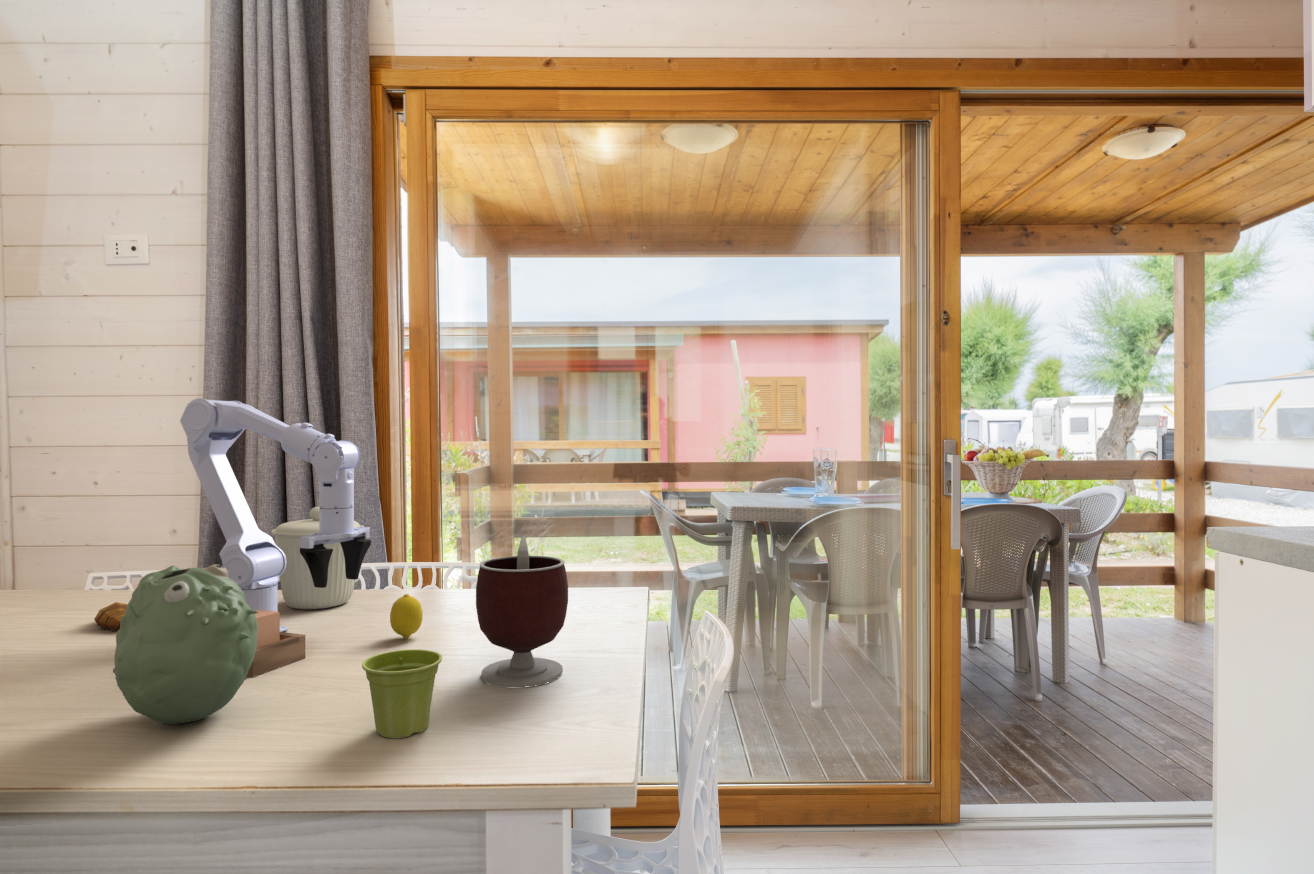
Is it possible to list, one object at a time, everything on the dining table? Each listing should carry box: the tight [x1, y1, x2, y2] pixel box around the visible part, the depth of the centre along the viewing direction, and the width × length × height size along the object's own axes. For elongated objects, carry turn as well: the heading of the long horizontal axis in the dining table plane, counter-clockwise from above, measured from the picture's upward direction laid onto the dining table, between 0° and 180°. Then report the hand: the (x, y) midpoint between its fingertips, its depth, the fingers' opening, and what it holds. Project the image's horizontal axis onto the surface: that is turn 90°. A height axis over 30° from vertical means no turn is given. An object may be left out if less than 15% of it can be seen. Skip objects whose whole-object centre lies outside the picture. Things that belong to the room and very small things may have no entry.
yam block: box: [255, 610, 281, 648], centre depth 115 cm, size 4×4×5 cm
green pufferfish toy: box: [112, 563, 258, 725], centre depth 93 cm, size 16×19×20 cm
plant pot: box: [361, 648, 443, 739], centre depth 90 cm, size 9×9×9 cm
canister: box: [270, 506, 365, 610], centre depth 156 cm, size 18×18×21 cm
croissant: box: [94, 601, 128, 633], centre depth 138 cm, size 14×7×5 cm, turn 54°
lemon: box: [389, 593, 424, 640], centre depth 130 cm, size 6×6×8 cm
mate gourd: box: [475, 535, 569, 688], centre depth 112 cm, size 16×14×20 cm
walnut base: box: [246, 631, 306, 678], centre depth 116 cm, size 10×10×4 cm
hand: (336, 582), depth 130 cm, fingers open, 7 cm apart
